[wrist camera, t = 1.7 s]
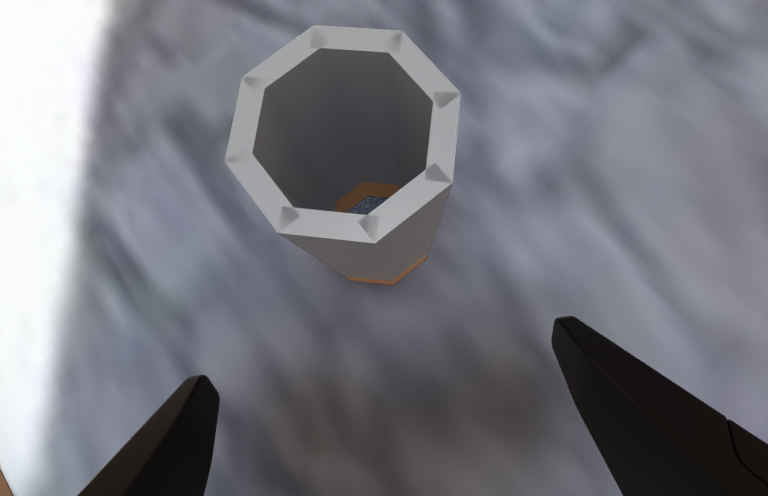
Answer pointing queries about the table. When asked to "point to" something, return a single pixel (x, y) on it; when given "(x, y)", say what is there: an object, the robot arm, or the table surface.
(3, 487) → the pin board
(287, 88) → the sleeve
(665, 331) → the table surface
